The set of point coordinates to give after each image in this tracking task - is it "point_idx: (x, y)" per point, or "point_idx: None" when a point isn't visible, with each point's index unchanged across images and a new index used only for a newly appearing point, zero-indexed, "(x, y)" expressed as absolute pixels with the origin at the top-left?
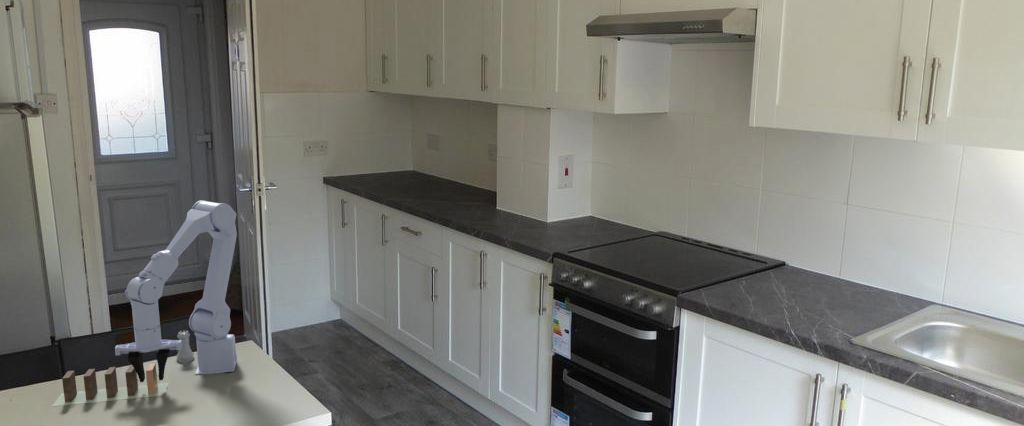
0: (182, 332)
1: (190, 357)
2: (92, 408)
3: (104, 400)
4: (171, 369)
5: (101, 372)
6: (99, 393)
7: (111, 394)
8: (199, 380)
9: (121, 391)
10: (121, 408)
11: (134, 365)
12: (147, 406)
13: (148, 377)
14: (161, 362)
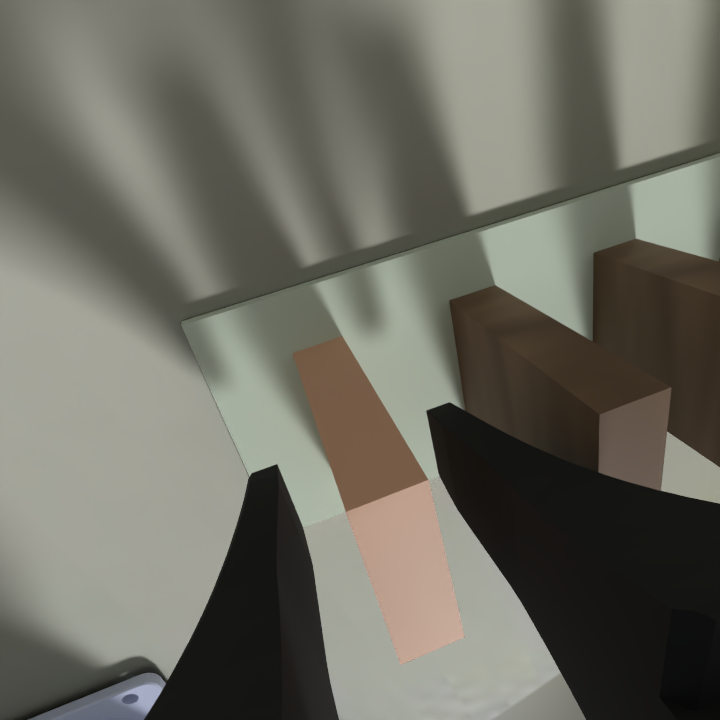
0: None
1: None
2: (704, 45)
3: (646, 191)
4: (372, 679)
5: None
6: None
7: (625, 256)
8: (62, 622)
9: None
10: (465, 27)
11: (629, 498)
12: (214, 70)
13: (371, 427)
14: (213, 678)
